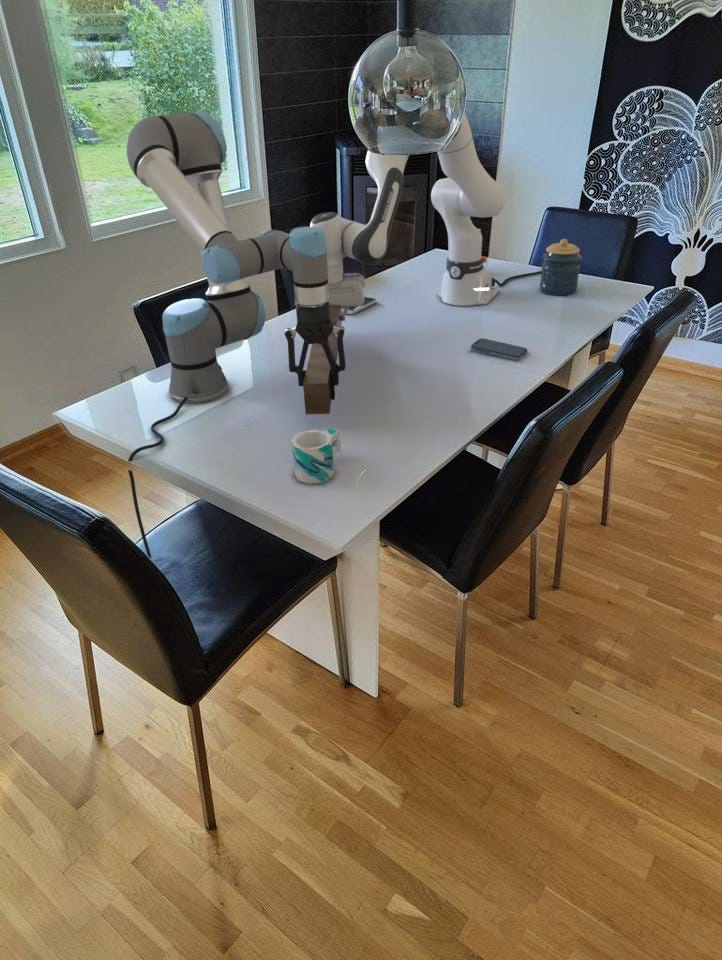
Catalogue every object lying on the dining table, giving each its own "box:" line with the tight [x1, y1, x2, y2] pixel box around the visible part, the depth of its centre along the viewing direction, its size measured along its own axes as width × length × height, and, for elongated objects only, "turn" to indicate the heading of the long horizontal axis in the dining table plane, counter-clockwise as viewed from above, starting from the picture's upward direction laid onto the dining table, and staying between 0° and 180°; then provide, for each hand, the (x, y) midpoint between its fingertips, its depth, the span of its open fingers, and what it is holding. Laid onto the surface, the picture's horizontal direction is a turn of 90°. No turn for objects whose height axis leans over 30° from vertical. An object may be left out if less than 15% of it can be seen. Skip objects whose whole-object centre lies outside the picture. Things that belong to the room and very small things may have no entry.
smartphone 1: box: [341, 296, 377, 315], centre depth 231 cm, size 8×1×15 cm
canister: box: [539, 238, 582, 296], centre depth 234 cm, size 13×13×18 cm
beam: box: [302, 306, 343, 415], centre depth 179 cm, size 62×6×8 cm, turn 179°
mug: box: [291, 427, 341, 485], centre depth 140 cm, size 8×12×8 cm
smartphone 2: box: [470, 337, 528, 361], centre depth 193 cm, size 8×2×15 cm
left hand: (319, 397), depth 160 cm, fingers closed on beam, 6 cm apart
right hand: (331, 320), depth 199 cm, fingers closed on beam, 5 cm apart
